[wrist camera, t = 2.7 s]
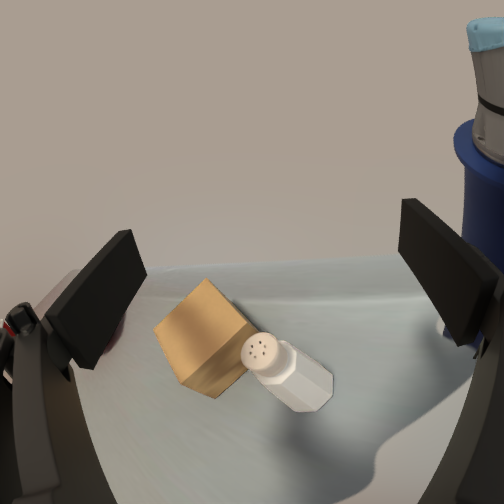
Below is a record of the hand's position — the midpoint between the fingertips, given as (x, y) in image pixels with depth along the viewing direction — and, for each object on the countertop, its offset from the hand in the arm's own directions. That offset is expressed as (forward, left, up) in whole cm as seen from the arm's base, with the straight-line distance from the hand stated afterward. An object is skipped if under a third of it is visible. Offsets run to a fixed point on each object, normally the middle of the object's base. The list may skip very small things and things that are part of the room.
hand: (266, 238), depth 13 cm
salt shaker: (+4, -1, -19) cm, 19 cm away
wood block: (+8, -12, -18) cm, 23 cm away
